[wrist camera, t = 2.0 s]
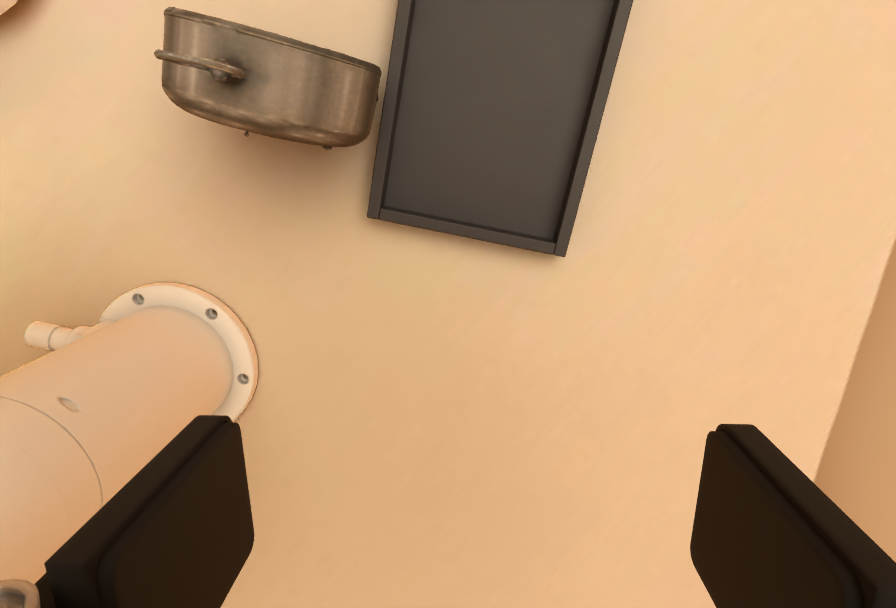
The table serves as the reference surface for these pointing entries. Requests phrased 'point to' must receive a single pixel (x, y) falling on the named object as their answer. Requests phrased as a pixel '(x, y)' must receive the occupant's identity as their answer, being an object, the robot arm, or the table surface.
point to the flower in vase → (6, 5)
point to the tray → (494, 116)
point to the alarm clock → (266, 81)
